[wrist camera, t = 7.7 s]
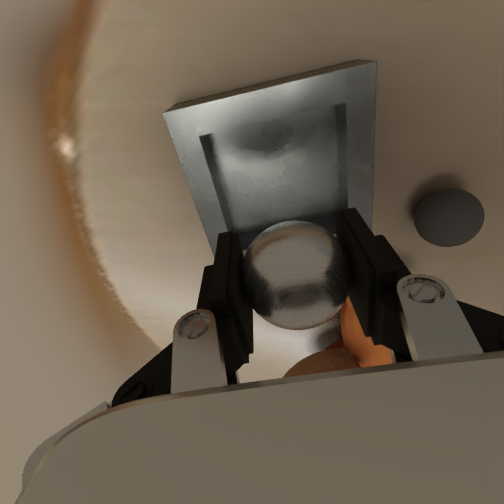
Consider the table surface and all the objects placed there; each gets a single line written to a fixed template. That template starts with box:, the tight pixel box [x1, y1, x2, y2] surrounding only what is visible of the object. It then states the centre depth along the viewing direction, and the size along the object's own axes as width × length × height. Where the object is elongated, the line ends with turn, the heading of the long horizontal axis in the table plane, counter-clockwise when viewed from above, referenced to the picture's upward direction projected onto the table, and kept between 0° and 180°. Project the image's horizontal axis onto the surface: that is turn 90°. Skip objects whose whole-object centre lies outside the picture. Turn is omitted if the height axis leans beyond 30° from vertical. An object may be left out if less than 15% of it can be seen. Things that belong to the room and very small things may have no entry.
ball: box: [414, 189, 484, 247], centre depth 20 cm, size 4×4×4 cm
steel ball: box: [241, 221, 352, 330], centre depth 11 cm, size 4×4×4 cm
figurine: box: [283, 296, 393, 378], centre depth 26 cm, size 20×9×15 cm
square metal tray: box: [163, 59, 377, 258], centre depth 19 cm, size 11×11×3 cm
